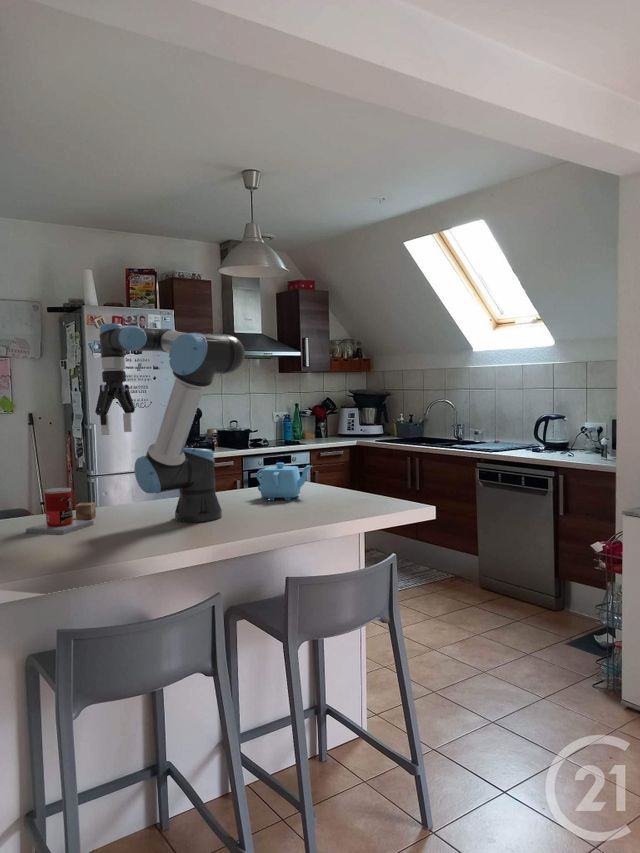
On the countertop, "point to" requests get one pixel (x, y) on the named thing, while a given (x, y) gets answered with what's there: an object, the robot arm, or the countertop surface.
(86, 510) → the walnut block
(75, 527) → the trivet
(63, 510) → the canned food
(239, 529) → the countertop surface
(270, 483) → the teapot
